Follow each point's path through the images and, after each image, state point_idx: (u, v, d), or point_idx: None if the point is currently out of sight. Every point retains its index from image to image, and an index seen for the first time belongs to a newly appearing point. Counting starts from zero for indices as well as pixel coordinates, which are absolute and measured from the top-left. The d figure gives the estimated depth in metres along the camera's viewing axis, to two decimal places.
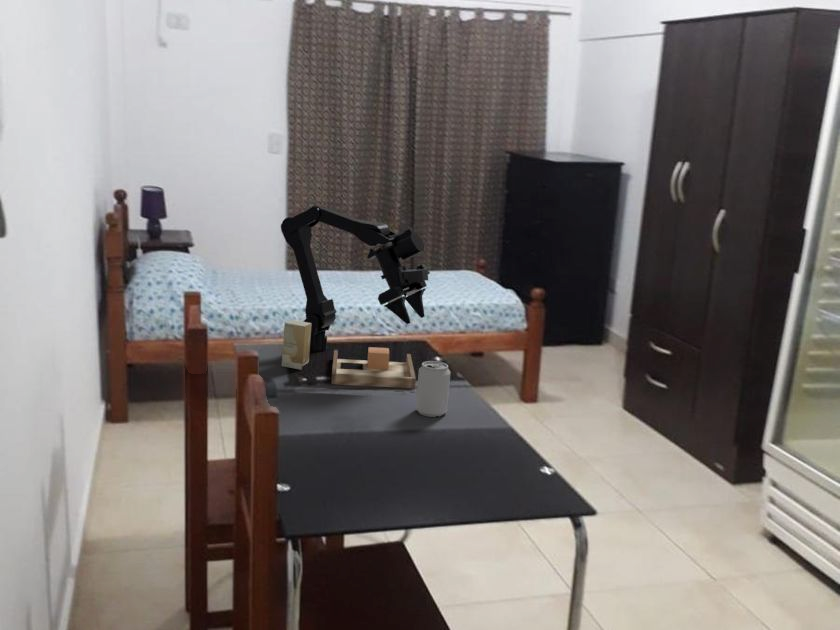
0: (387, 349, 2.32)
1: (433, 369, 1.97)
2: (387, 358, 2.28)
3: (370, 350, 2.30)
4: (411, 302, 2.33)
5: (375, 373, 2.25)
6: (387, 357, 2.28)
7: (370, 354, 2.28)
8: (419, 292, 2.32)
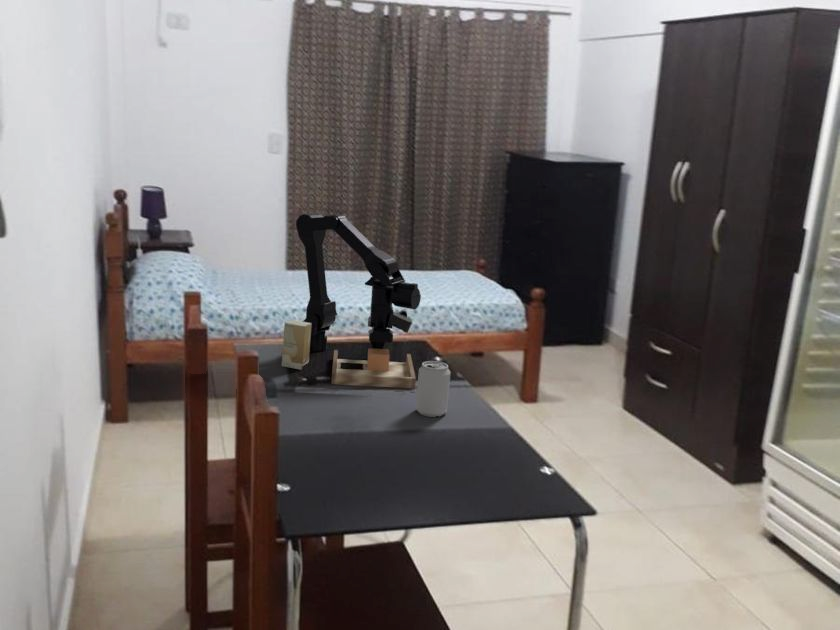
0: (387, 350, 2.31)
1: (433, 369, 1.97)
2: (387, 359, 2.27)
3: (370, 351, 2.28)
4: None
5: (375, 373, 2.25)
6: (387, 358, 2.27)
7: (370, 355, 2.26)
8: None
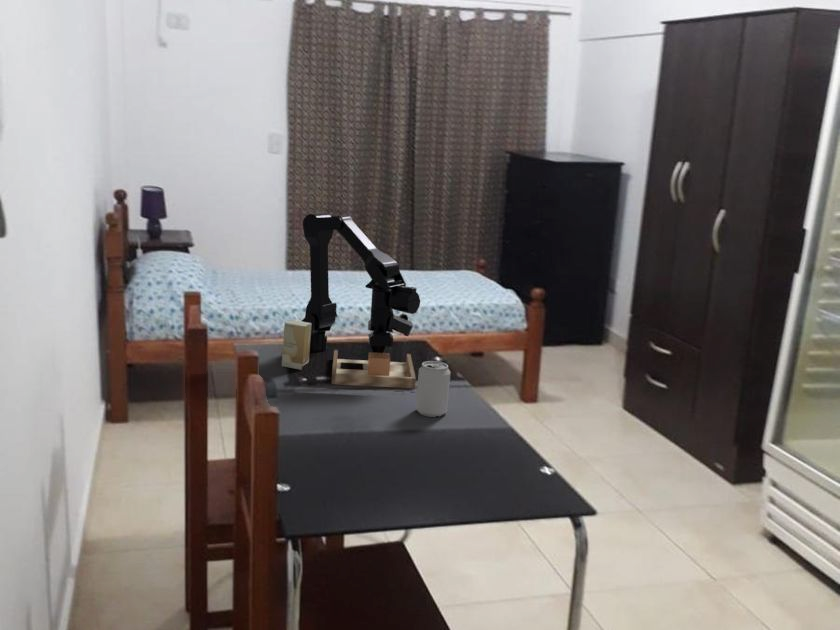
0: (388, 354, 2.27)
1: (433, 369, 1.97)
2: (388, 363, 2.23)
3: (370, 355, 2.25)
4: None
5: None
6: (388, 362, 2.23)
7: (371, 359, 2.23)
8: None
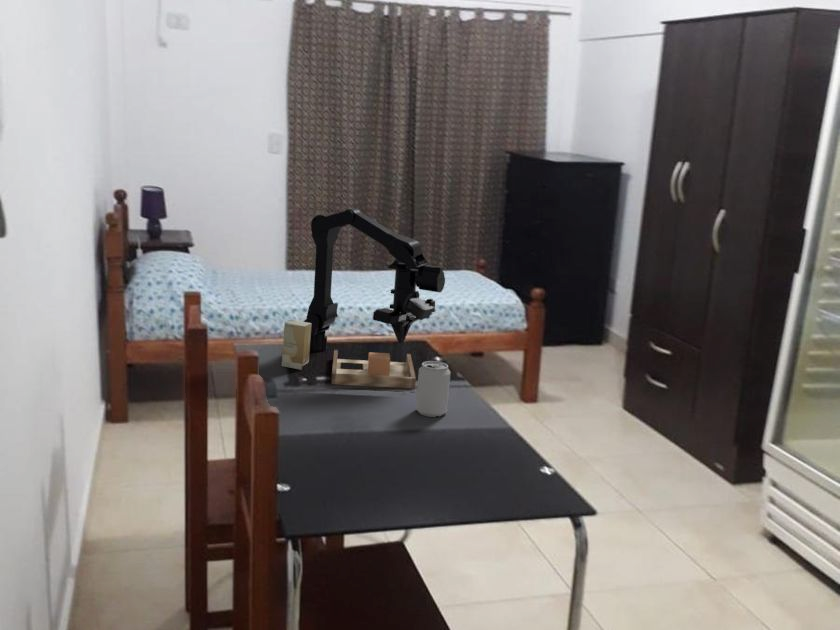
0: (388, 354, 2.27)
1: (433, 369, 1.97)
2: (388, 364, 2.23)
3: (370, 355, 2.25)
4: None
5: None
6: (388, 362, 2.23)
7: (370, 359, 2.23)
8: (409, 321, 2.30)
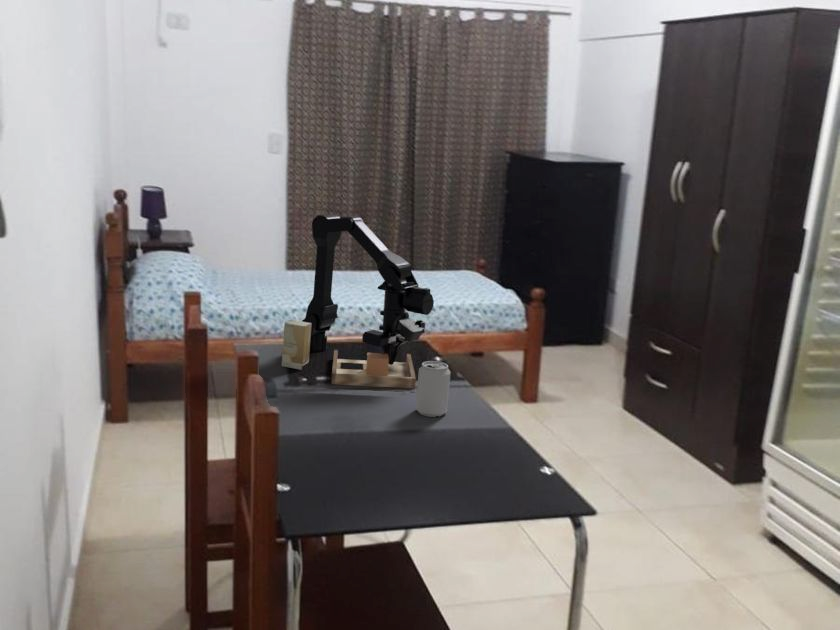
0: (386, 355, 2.26)
1: (433, 369, 1.97)
2: (386, 364, 2.23)
3: (369, 356, 2.24)
4: None
5: None
6: (386, 363, 2.23)
7: (369, 360, 2.22)
8: (399, 342, 2.28)
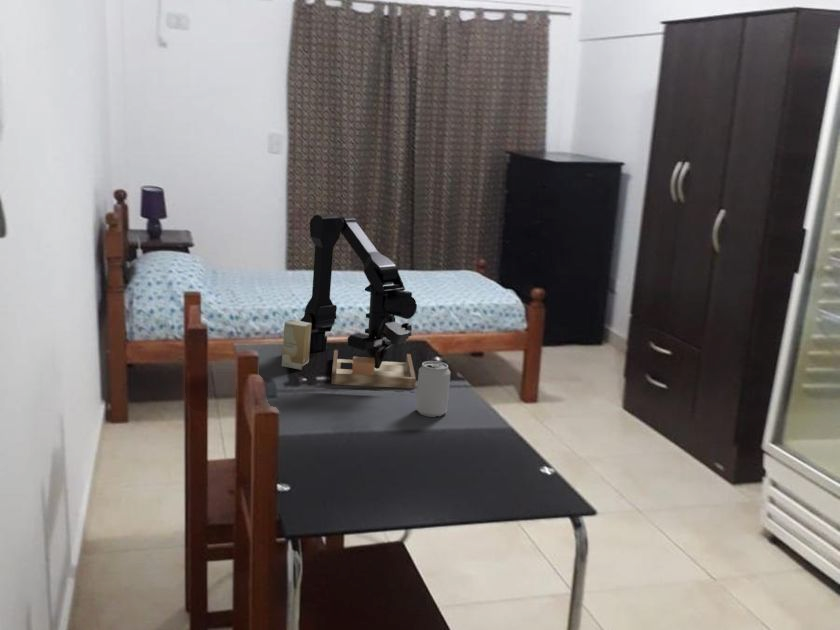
0: (372, 359, 2.22)
1: (433, 369, 1.97)
2: (372, 368, 2.18)
3: (355, 360, 2.20)
4: None
5: (375, 373, 2.25)
6: (372, 367, 2.18)
7: (354, 364, 2.18)
8: (385, 345, 2.24)
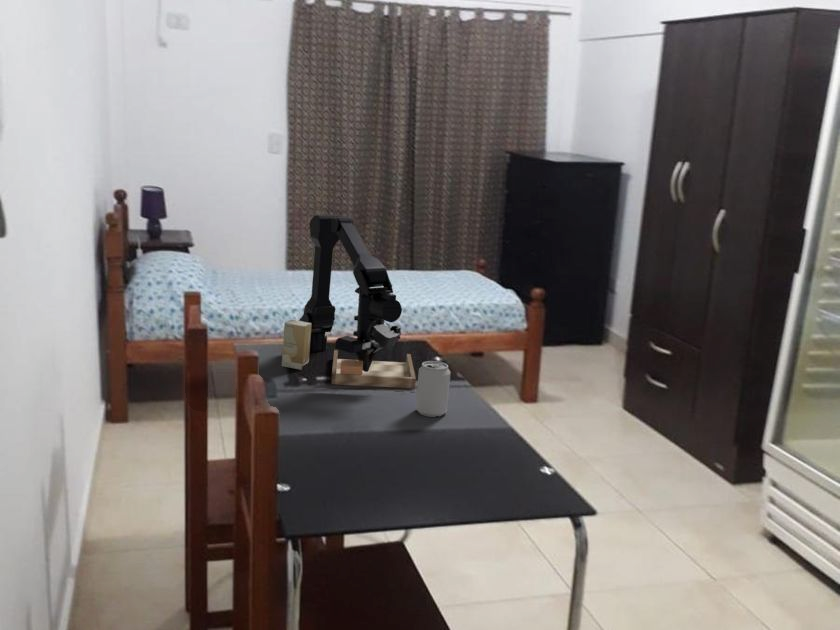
0: (361, 362, 2.18)
1: (433, 369, 1.97)
2: (360, 371, 2.15)
3: (342, 363, 2.16)
4: None
5: (375, 373, 2.25)
6: (360, 370, 2.15)
7: (342, 367, 2.14)
8: (374, 348, 2.20)
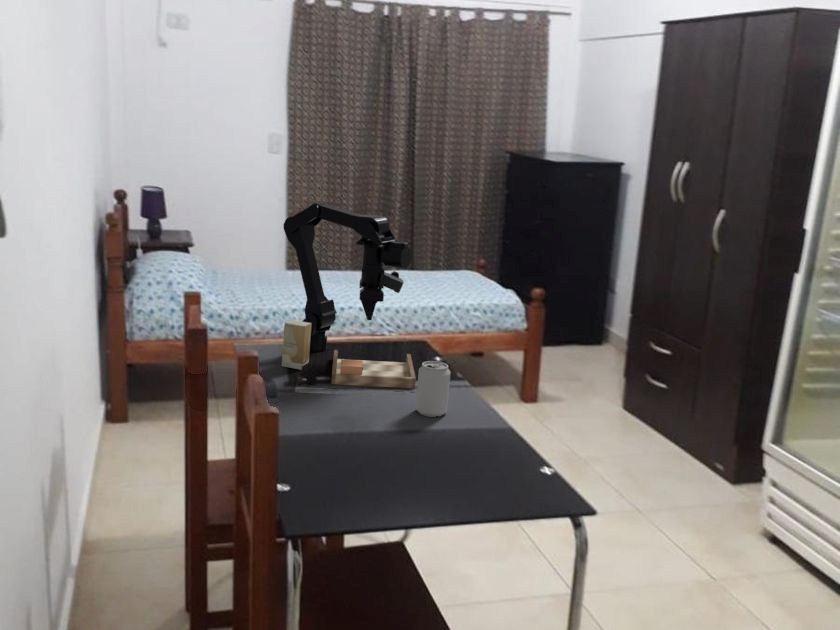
0: (361, 362, 2.18)
1: (433, 369, 1.97)
2: (360, 372, 2.15)
3: (342, 363, 2.16)
4: None
5: (375, 373, 2.25)
6: (360, 370, 2.15)
7: (342, 367, 2.14)
8: None
